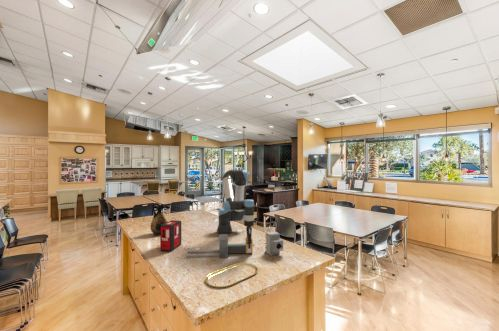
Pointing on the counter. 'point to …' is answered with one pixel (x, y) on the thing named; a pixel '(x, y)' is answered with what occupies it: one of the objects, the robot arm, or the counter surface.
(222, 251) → the housing
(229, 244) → the mat
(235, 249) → the plug
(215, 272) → the gold oval ring
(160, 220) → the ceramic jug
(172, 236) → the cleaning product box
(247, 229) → the robot arm
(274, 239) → the circuit breaker
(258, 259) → the counter surface
